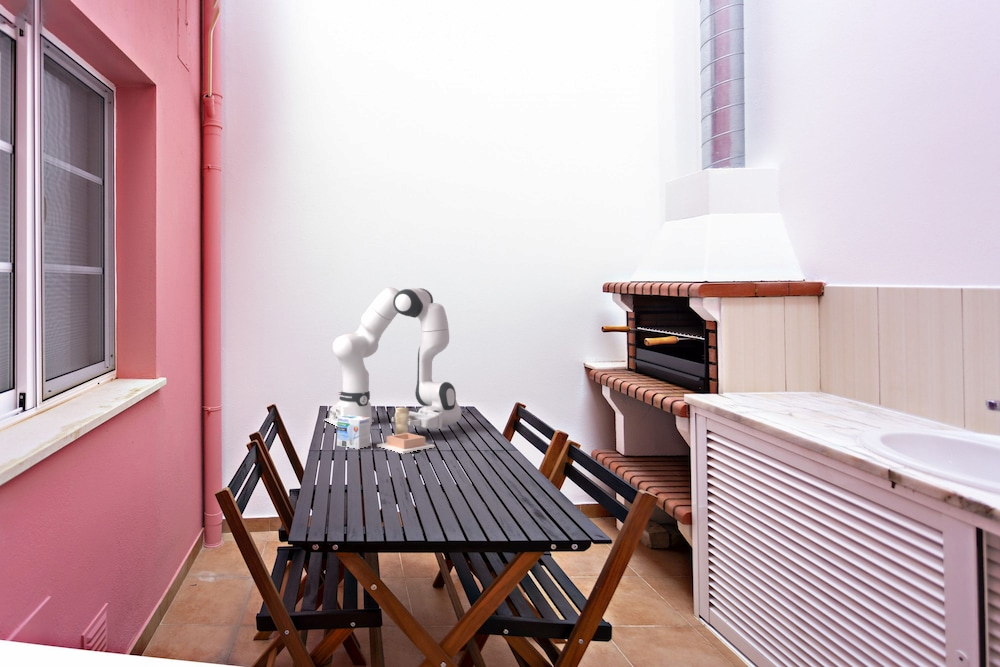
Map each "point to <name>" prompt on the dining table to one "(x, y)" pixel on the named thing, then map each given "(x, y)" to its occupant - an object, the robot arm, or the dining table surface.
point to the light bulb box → (353, 431)
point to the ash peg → (402, 420)
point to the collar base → (405, 443)
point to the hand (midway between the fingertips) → (400, 421)
